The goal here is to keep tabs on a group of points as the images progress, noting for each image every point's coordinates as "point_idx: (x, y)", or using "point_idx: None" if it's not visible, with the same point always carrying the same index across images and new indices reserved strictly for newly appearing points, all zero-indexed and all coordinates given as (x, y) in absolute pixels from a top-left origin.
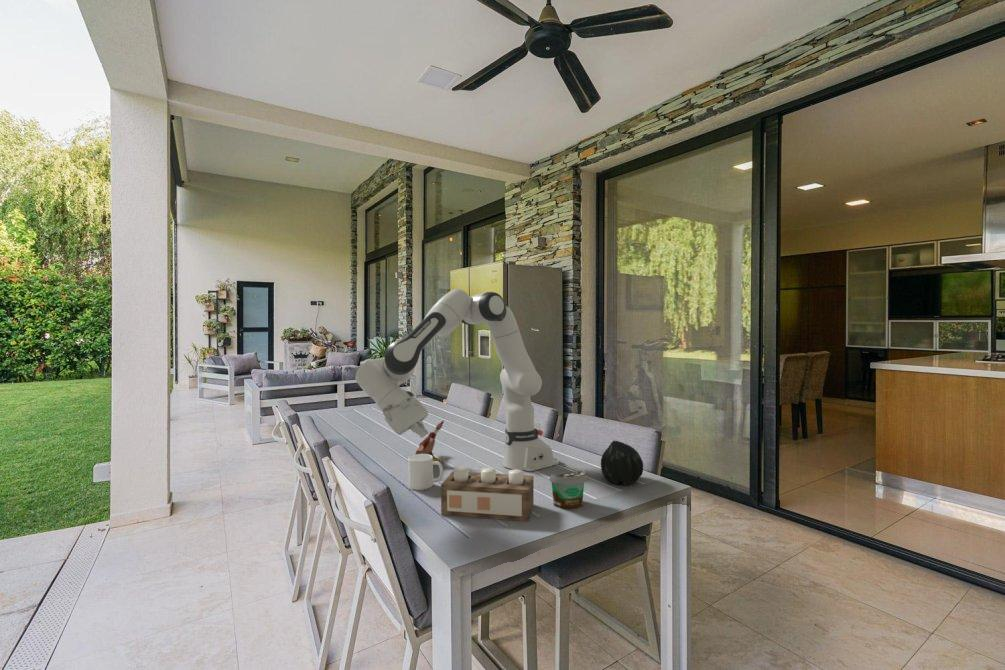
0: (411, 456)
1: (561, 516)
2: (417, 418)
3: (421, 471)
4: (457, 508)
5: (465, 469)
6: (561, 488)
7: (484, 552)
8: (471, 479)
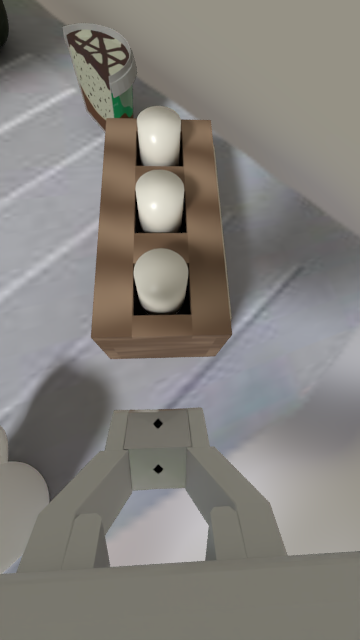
0: None
1: None
2: (149, 614)
3: (17, 504)
4: None
5: (165, 255)
6: (130, 91)
7: (340, 231)
8: None
